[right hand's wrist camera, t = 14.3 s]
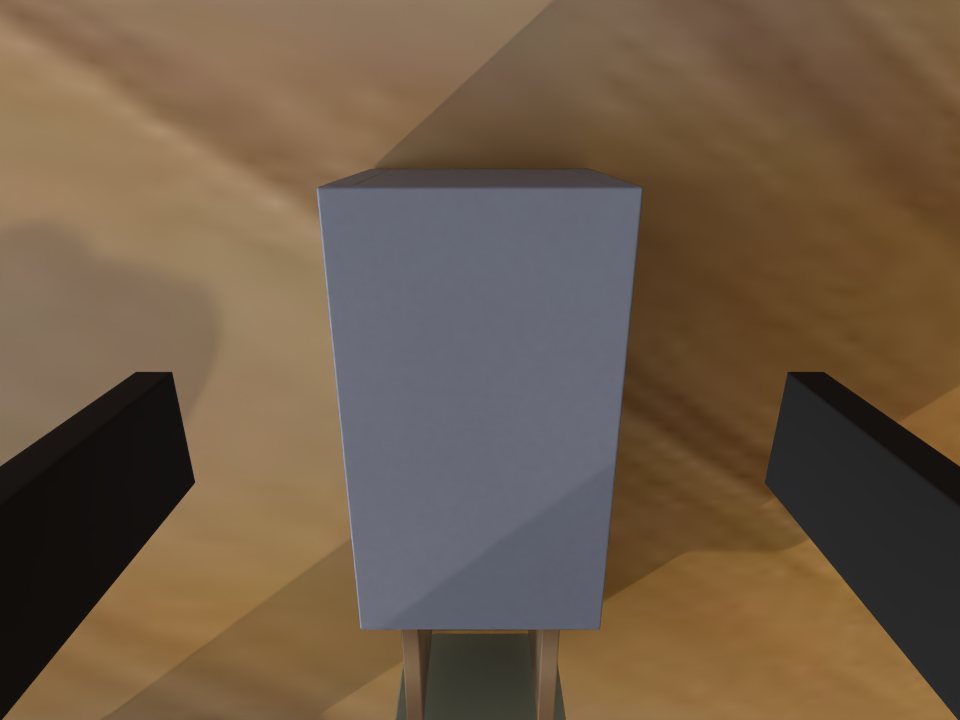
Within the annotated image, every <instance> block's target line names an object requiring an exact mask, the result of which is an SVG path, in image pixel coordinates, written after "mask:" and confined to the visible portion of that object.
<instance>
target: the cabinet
mask: <svg viewBox="0 0 960 720" xmlns="http://www.w3.org/2000/svg"><path fill="white" fill-rule="evenodd" d="M642 195H643V187H641V186H638V185H635V184H632V183H629V182H626V181H623V180H620V179H617V178H614V177H611V176H608V175H605V174H602V173H599V172H596V171H594V170H591V169H369V170H366V171H363V172H360V173H357V174H355V175H352V176H349V177H346V178H343V179H340V180H337V181H334V182H331V183H328V184H325V185H323V186H320V187H318V188H317V196H318V206H319V216H320V226H321V236H322V246H323V256H324V266H325V276H326V286H327V296H328V306H329V316H330V326H331V336H332V346H333V356H334V366H335V376H336V386H337V396H338V406H339V416H340V426H341V437H342V447H343V457H344V467H345V477H346V487H347V497H348V507H349V517H350V527H351V537H352V547H353V557H354V567H355V577H356V587H357V597H358V607H359V617H360V627H361V629H362V630H379V629H600V624H601V614H602V604H603V594H604V583H605V573H606V563H607V553H608V543H609V532H610V522H611V512H612V502H613V492H614V481H615V471H616V461H617V451H618V440H619V430H620V420H621V410H622V400H623V389H624V379H625V369H626V359H627V349H628V338H629V328H630V318H631V308H632V298H633V287H634V277H635V267H636V257H637V246H638V236H639V226H640V216H641V206H642Z"/></svg>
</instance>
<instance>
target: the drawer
mask: <svg viewBox="0 0 960 720" xmlns="http://www.w3.org/2000/svg"><path fill="white" fill-rule="evenodd" d="M432 630H528V633H529V634H432ZM559 631H560V629H401V634H402V649H403V668H402V675H401V682H400V689H399V696H398V703H397V710H396V717H395V720H566V718H565V711H564V704H563V697H562V690H561V683H560V676H559V670H558V663H557V662H558V647H559Z"/></svg>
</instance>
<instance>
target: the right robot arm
mask: <svg viewBox="0 0 960 720" xmlns="http://www.w3.org/2000/svg"><path fill="white" fill-rule="evenodd" d="M194 483H195V480H194V475H193V470H192V465H191V460H190V456H189V451H188V446H187V441H186V436H185V432H184V427H183V422H182V417H181V413H180V408H179V403H178V398H177V393H176V389H175V384H174V379H173V374H172V372H135V373H134V374H133V375H131V376H130V377H128V378H127V379H125V380H124V381H123V382H121V383H120V384H118V385H117V386H115V387H114V388H112V389H111V390H110V391H108V392H107V393H105V394H104V395H102V396H101V397H100V398H98V399H97V400H95V401H94V402H92V403H91V404H89V405H88V406H87V407H85V408H84V409H82V410H81V411H79V412H78V413H77V414H75V415H74V416H72V417H71V418H69V419H68V420H66V421H65V422H64V423H62V424H61V425H59V426H58V427H56V428H55V429H54V430H52V431H51V432H49V433H48V434H46V435H45V436H43V437H42V438H41V439H39V440H38V441H36V442H35V443H33V444H32V445H31V446H29V447H28V448H26V449H25V450H23V451H22V452H20V453H19V454H18V455H16V456H15V457H13V458H12V459H10V460H9V461H8V462H6V463H5V464H3V465H2V466H0V720H2V719H3V718H4V717H5V715H6V714H7V713H8V712H9V711H10V709H11V708H12V707H13V706H14V704H15V703H16V702H17V701H18V699H19V698H20V697H21V696H22V695H23V693H24V692H25V691H26V690H27V688H28V687H29V686H30V685H31V684H32V682H33V681H34V680H35V679H36V677H37V676H38V675H39V674H40V672H41V671H42V670H43V669H44V668H45V666H46V665H47V664H48V663H49V661H50V660H51V659H52V658H53V657H54V655H55V654H56V653H57V652H58V650H59V649H60V648H61V647H62V645H63V644H64V643H65V642H66V641H67V639H68V638H69V637H70V636H71V634H72V633H73V632H74V631H75V629H76V628H77V627H78V626H79V625H80V623H81V622H82V621H83V620H84V618H85V617H86V616H87V615H88V614H89V612H90V611H91V610H92V609H93V607H94V606H95V605H96V604H97V602H98V601H99V600H100V599H101V598H102V596H103V595H104V594H105V593H106V591H107V590H108V589H109V588H110V587H111V585H112V584H113V583H114V582H115V580H116V579H117V578H118V577H119V575H120V574H121V573H122V572H123V571H124V569H125V568H126V567H127V566H128V564H129V563H130V562H131V561H132V560H133V558H134V557H135V556H136V555H137V553H138V552H139V551H140V550H141V548H142V547H143V546H144V545H145V544H146V542H147V541H148V540H149V539H150V537H151V536H152V535H153V534H154V532H155V531H156V530H157V529H158V528H159V526H160V525H161V524H162V523H163V521H164V520H165V519H166V518H167V517H168V515H169V514H170V513H171V512H172V510H173V509H174V508H175V507H176V505H177V504H178V503H179V502H180V501H181V499H182V498H183V497H184V496H185V494H186V493H187V492H188V491H189V490H190V488H191V487H192V486H193V485H194ZM765 483H766V485H767V486H768V487H769V488H770V490H771V491H772V492H773V493H774V494H775V496H776V497H777V498H778V499H779V501H780V502H781V503H782V504H783V505H784V507H785V508H786V509H787V510H788V512H789V513H790V514H791V515H792V517H793V518H794V519H795V520H796V521H797V523H798V524H799V525H800V526H801V528H802V529H803V530H804V531H805V532H806V534H807V535H808V536H809V537H810V539H811V540H812V541H813V542H814V544H815V545H816V546H817V547H818V548H819V550H820V551H821V552H822V553H823V555H824V556H825V557H826V558H827V560H828V561H829V562H830V563H831V564H832V566H833V567H834V568H835V569H836V571H837V572H838V573H839V574H840V575H841V577H842V578H843V579H844V580H845V582H846V583H847V584H848V585H849V587H850V588H851V589H852V590H853V591H854V593H855V594H856V595H857V596H858V598H859V599H860V600H861V601H862V602H863V604H864V605H865V606H866V607H867V609H868V610H869V611H870V612H871V614H872V615H873V616H874V617H875V618H876V620H877V621H878V622H879V623H880V625H881V626H882V627H883V628H884V629H885V631H886V632H887V633H888V634H889V636H890V637H891V638H892V639H893V641H894V642H895V643H896V644H897V645H898V647H899V648H900V649H901V650H902V652H903V653H904V654H905V655H906V657H907V658H908V659H909V660H910V661H911V663H912V664H913V665H914V666H915V668H916V669H917V670H918V671H919V672H920V674H921V675H922V676H923V677H924V679H925V680H926V681H927V682H928V684H929V685H930V686H931V687H932V688H933V690H934V691H935V692H936V693H937V695H938V696H939V697H940V698H941V699H942V701H943V702H944V703H945V704H946V706H947V707H948V708H949V709H950V711H951V712H952V713H953V714H954V715H955V717H956V718H957V719H958V720H960V466H958V465H957V464H955V463H954V462H952V461H951V460H950V459H948V458H947V457H945V456H944V455H942V454H941V453H940V452H938V451H937V450H935V449H934V448H932V447H931V446H929V445H928V444H927V443H925V442H924V441H922V440H921V439H919V438H918V437H917V436H915V435H914V434H912V433H911V432H909V431H908V430H906V429H905V428H904V427H902V426H901V425H899V424H898V423H896V422H895V421H894V420H892V419H891V418H889V417H888V416H886V415H885V414H883V413H882V412H881V411H879V410H878V409H876V408H875V407H873V406H872V405H871V404H869V403H868V402H866V401H865V400H863V399H862V398H860V397H859V396H858V395H856V394H855V393H853V392H852V391H850V390H849V389H848V388H846V387H845V386H843V385H842V384H840V383H839V382H837V381H836V380H835V379H833V378H832V377H830V376H829V375H827V374H826V373H825V372H788V374H787V379H786V384H785V389H784V393H783V398H782V403H781V408H780V413H779V417H778V422H777V427H776V432H775V436H774V441H773V446H772V451H771V456H770V460H769V465H768V470H767V475H766V480H765Z"/></svg>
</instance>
